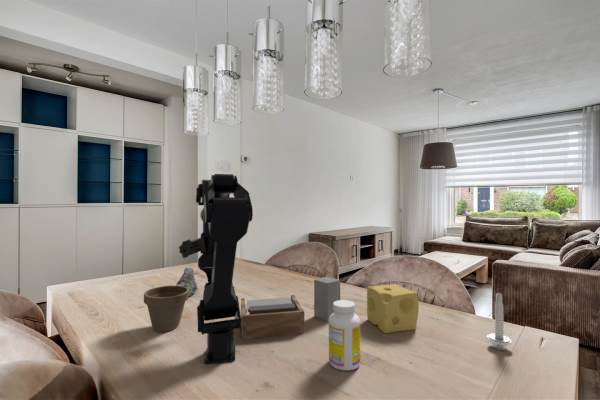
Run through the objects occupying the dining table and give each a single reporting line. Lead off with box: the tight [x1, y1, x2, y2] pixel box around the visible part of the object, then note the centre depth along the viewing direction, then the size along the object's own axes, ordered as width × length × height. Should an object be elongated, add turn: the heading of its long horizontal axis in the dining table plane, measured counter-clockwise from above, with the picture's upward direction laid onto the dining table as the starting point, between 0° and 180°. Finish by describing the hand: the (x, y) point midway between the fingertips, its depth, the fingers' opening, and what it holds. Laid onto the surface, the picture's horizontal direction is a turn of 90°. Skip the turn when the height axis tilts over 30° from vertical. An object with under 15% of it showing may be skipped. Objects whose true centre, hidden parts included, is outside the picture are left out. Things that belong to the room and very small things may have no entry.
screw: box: [486, 292, 512, 351], centre depth 73 cm, size 13×5×5 cm
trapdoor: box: [246, 297, 295, 314], centre depth 87 cm, size 12×13×3 cm
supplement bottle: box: [328, 299, 361, 372], centre depth 66 cm, size 7×7×13 cm
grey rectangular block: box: [313, 276, 341, 323], centre depth 92 cm, size 6×6×11 cm
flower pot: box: [143, 285, 190, 333], centre depth 85 cm, size 12×11×10 cm
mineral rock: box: [175, 266, 199, 297], centre depth 114 cm, size 13×11×10 cm
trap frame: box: [240, 294, 305, 339], centre depth 87 cm, size 14×16×6 cm
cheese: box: [366, 283, 420, 335], centre depth 87 cm, size 10×11×10 cm
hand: (214, 287), depth 81 cm, fingers open, 9 cm apart
